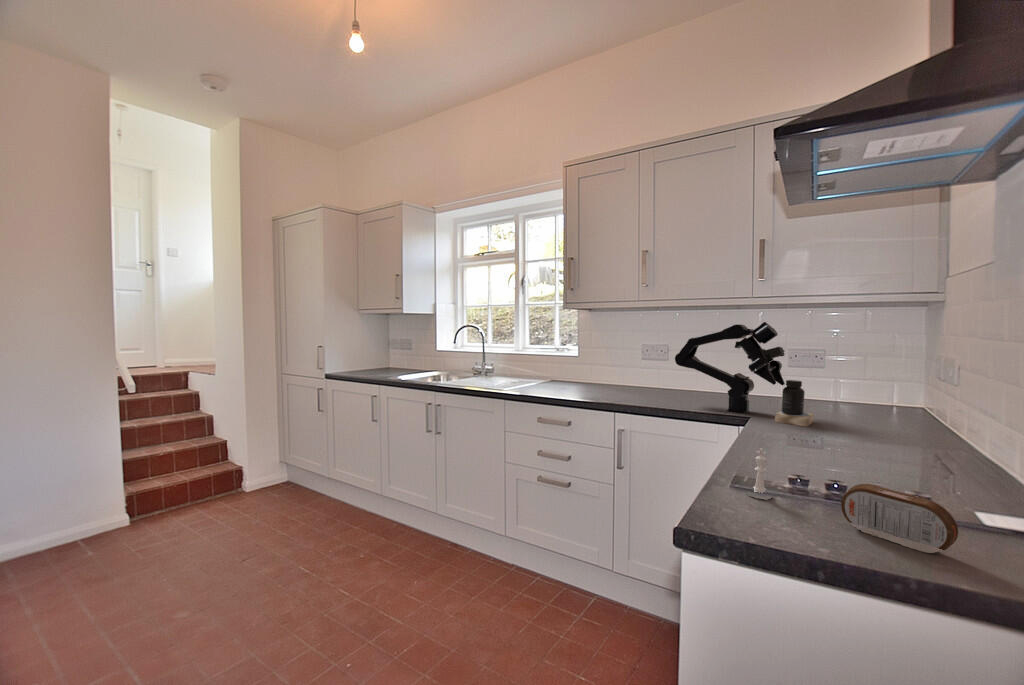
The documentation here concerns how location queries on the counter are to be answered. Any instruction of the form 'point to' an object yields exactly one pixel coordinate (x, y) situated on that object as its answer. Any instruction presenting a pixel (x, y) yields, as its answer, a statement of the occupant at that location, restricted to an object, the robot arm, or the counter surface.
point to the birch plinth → (795, 419)
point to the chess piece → (760, 472)
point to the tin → (900, 515)
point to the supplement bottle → (793, 398)
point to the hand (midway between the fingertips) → (779, 384)
